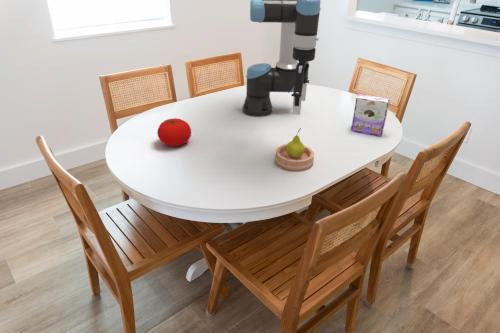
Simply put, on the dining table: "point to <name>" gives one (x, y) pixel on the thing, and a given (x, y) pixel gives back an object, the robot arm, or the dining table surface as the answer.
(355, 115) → the candy box
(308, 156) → the dish
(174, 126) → the tomato
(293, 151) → the fruit
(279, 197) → the dining table surface
